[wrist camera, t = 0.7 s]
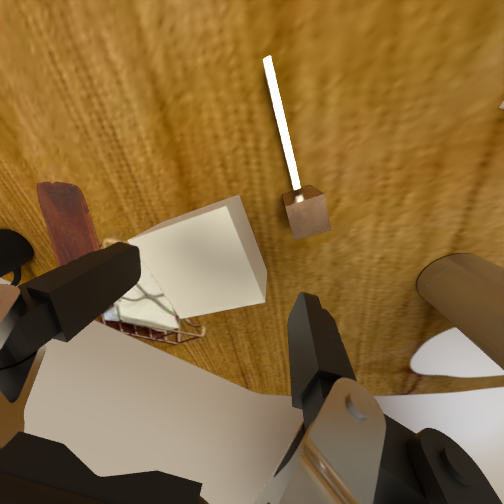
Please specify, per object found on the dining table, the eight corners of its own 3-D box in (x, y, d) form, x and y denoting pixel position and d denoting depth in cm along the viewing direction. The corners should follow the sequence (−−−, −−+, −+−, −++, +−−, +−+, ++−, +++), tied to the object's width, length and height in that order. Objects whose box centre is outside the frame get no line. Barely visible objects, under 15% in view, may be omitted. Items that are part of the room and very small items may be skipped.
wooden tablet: (117, 305, 42) (112, 311, 40) (76, 296, 42) (68, 301, 40) (91, 186, 29) (81, 187, 28) (32, 173, 29) (19, 174, 28)
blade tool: (315, 212, 27) (330, 230, 19) (289, 220, 28) (294, 240, 20) (284, 61, 20) (291, 5, 13) (250, 79, 21) (238, 36, 14)
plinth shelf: (267, 271, 32) (265, 302, 25) (199, 287, 35) (180, 318, 28) (238, 194, 27) (226, 205, 20) (161, 221, 30) (127, 240, 23)
